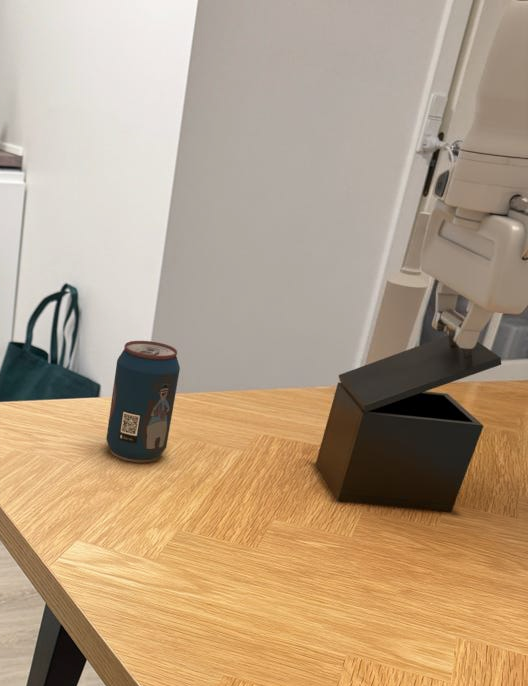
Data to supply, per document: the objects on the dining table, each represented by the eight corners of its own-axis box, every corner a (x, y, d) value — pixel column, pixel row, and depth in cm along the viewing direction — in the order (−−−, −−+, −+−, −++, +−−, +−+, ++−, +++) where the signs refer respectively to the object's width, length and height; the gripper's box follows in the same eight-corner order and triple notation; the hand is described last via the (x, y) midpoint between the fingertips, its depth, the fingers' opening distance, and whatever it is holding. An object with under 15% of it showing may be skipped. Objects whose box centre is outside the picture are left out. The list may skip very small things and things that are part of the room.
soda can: (118, 437, 106) (132, 335, 100) (172, 451, 104) (191, 347, 98) (95, 454, 101) (109, 347, 94) (152, 469, 99) (170, 361, 92)
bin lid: (462, 336, 97) (456, 295, 95) (501, 364, 88) (496, 320, 86) (339, 381, 100) (331, 342, 98) (365, 412, 91) (356, 370, 89)
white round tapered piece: (369, 410, 125) (427, 216, 111) (345, 398, 129) (398, 209, 115) (397, 408, 127) (457, 217, 113) (372, 396, 131) (428, 210, 117)
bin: (419, 474, 106) (447, 393, 100) (451, 512, 97) (484, 425, 91) (315, 464, 105) (337, 382, 100) (337, 501, 96) (363, 413, 91)
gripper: (583, 208, 76) (524, 370, 83) (490, 179, 93) (447, 316, 100) (510, 201, 75) (457, 364, 83) (430, 174, 93) (392, 311, 100)
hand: (451, 338), depth 92 cm, fingers closed on bin lid, 5 cm apart
